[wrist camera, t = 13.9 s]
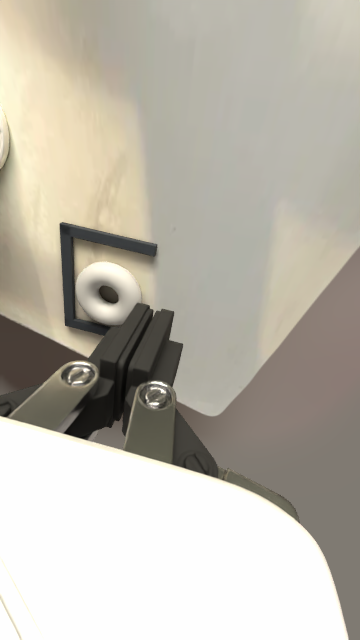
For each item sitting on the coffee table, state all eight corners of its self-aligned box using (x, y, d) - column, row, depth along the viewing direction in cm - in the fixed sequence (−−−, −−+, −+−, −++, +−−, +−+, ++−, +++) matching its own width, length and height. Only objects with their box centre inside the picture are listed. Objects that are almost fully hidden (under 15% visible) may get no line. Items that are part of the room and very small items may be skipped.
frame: (67, 323, 49) (65, 325, 48) (62, 222, 40) (59, 223, 39) (144, 342, 48) (142, 345, 48) (157, 244, 39) (155, 246, 38)
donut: (142, 259, 41) (75, 256, 42) (135, 268, 38) (64, 264, 39) (146, 320, 46) (87, 315, 47) (140, 332, 43) (77, 326, 44)
